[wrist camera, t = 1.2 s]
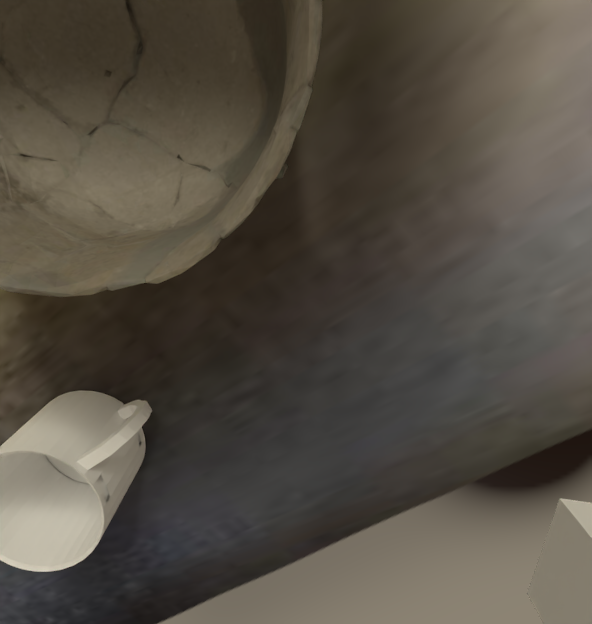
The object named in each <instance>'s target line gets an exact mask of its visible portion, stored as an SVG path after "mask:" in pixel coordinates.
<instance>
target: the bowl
mask: <svg viewBox="0 0 592 624" xmlns="http://www.w3.org/2000/svg"><path fill="white" fill-rule="evenodd" d="M321 33H322V0H0V289H3V290H6V291H9V292H16V293H24V294H33V295H43V296H53V297H69V296H82V295H93V294H96V293H99V292H102V291H105V290H111V291H113V290H118V289H122V288H126V287H130V286H134V285H138V284H142V283H154V284H158V283H161V282H163V281H165V280H168V279H170V278H172V277H175V276H177V275H179V274H181V273H183V272H184V271H186V270H187V269H189V268H190V267H192V266H193V265H195V264H196V263H197V262H199V261H200V260H202V259H203V258H204V257H206V256H207V255H208V254H210V253H211V252H212V251H214V250H215V248H216V247H217V246H218V244H219V243H220V241H221V240H222V239H225V238H227V237H228V236H229V235H230V234H231V233H232V232H233V231H234V230H235V229H237V228H238V227H239V226H240V225H241V224H242V223H243V222H244V221H245V219H246V218H247V217H248V216H249V214H250V213H251V212H252V211H253V210H254V208H255V207H256V206H257V205H258V203H259V202H260V200H261V199H262V197H263V196H264V194H265V192H266V191H267V189H268V188H269V186H270V185H271V184H272V182H273V181H274V180H275V179H276V178H283V176H284V174H285V172H286V170H287V168H288V165H287V164H286V163H285V161H286V159H287V157H288V155H289V153H290V151H291V149H292V145H293V142H294V139H295V136H296V133H297V131H298V130H299V129H300V126H301V123H302V121H303V118H304V115H305V112H306V109H307V106H308V103H309V100H310V97H311V94H312V91H313V89H312V88H311V86H312V83H313V81H314V76H315V72H316V67H317V62H318V57H319V52H320V42H321Z"/></svg>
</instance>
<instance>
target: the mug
mask: <svg viewBox="0 0 592 624" xmlns="http://www.w3.org/2000/svg"><path fill="white" fill-rule="evenodd" d="M151 412H152V409H151V407H150V406H149V404H148V402H147V401H144V400H143V401H141V400H140V399H139V400H135V401H132V402H129V403H127V404H125V405H124V404H123V403H122V402H120V401H119V400H117V399H116V398H114V397H112V396H109V395H107V394H104V393H100V392H95V391H83V390H79V391H73V392H68V393H65V394H62V395H60V396H58V397H56V398H55V399H53V400H51V401H50V402H49V403H48V404H47V405H46V406H44V407H43V408H42V409H41V410H40V411H39V412H38V413H37V414H36V415H34V416H33V417H32V418H31V419H30V420H29V421H28V422H27V423H26V424H24V425H23V426H22V427H21V428H20V429H19V430H18V431H17V432H16V433H15V434H13V435H12V436H11V437H10V438H9V439H8V440H7V441H6V442H5V443H3V444H2V445H1V446H0V560H1V561H3V562H5V563H7V564H9V565H11V566H14V567H17V568H20V569H24V570H30V571H39V572H50V571H56V570H62V569H65V568H68V567H71V566H74V565H75V564H77V563H79V562H81V561H82V560H84V559H85V558H86V557H87V556H88V555H89V554H91V553H92V551H93V550H94V549H95V547H96V546H97V544H98V543H99V541H100V539H101V538H102V536H103V534H104V532H105V530H106V528H107V527H108V525H109V523H110V521H111V519H112V517H113V516H114V514H115V512H116V510H117V508H118V506H119V505H120V503H121V501H122V499H123V497H124V495H125V494H126V492H127V490H128V488H129V486H130V484H131V483H132V481H133V479H134V477H135V475H136V474H137V472H138V470H139V468H140V466H141V464H142V461H143V459H144V455H145V449H146V445H145V436H144V432H143V429H142V426H143V425H144V423H145V422H146V421H147V420H148V418H149V416H150V413H151Z"/></svg>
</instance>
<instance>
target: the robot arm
mask: <svg viewBox="0 0 592 624" xmlns="http://www.w3.org/2000/svg"><path fill="white" fill-rule="evenodd" d="M527 594H528V596H529V598H530V600H531V602H532V603H533V605H534V607H535V609H536V611H537V613H538V614H539V616H540V618H541V620H542V622H543V624H592V503H589V502H582V501H574V500H567V499H561V498H560V499H559V501H558V505H557V507H556V510H555V513H554V516H553V519H552V522H551V525H550V528H549V531H548V534H547V537H546V540H545V542H544V545H543V548H542V551H541V555H540V557H539V560H538V563H537V566H536V569H535V572H534V575H533V578H532V581H531V583H530V586H529V589H528V592H527Z"/></svg>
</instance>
